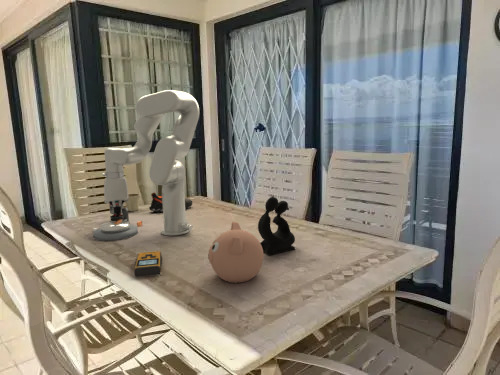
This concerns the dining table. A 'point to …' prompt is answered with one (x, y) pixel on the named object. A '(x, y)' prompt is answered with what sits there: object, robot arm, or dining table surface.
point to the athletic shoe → (158, 205)
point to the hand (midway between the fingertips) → (117, 214)
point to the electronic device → (148, 264)
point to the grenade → (114, 216)
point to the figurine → (282, 236)
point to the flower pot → (132, 202)
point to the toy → (236, 255)
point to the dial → (117, 224)
